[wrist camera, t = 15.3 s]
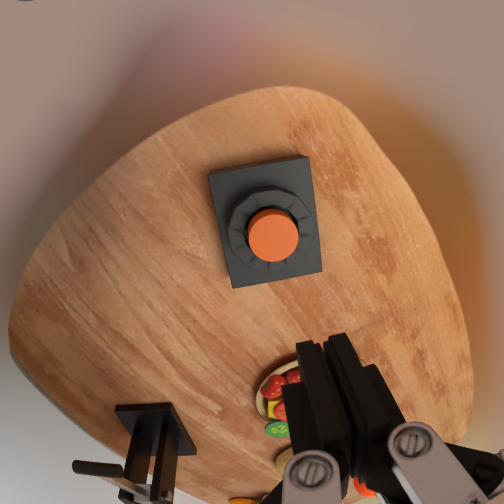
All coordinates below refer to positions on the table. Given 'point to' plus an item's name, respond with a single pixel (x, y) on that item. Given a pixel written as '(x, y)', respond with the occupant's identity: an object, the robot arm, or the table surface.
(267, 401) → the toy food set
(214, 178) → the control block
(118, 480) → the lever
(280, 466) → the bread roll
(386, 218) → the table surface
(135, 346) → the table surface
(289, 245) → the button
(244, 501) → the rattle
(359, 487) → the clementine
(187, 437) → the bracket
